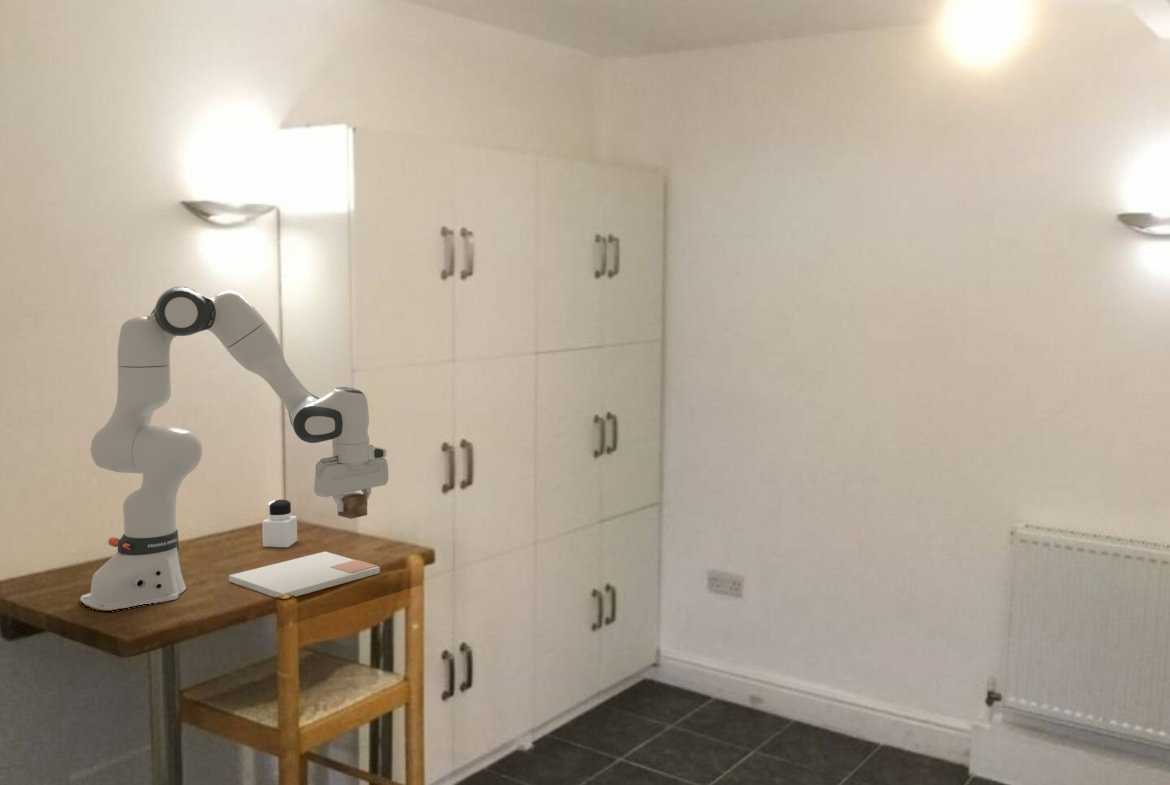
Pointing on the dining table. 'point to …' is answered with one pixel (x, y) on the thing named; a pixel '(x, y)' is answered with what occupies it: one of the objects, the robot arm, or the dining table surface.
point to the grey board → (304, 574)
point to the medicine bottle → (279, 525)
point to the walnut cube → (354, 505)
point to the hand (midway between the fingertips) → (352, 508)
